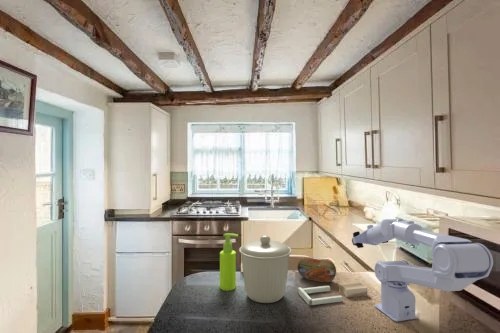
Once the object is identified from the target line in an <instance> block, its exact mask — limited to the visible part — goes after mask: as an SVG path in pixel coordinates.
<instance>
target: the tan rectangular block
mask: <svg viewBox="0 0 500 333" xmlns="http://www.w3.org/2000/svg"><path fill="white" fill-rule="evenodd" d="M338 291H339V293H341V294H342V295H343V296H344V297H345V298H354V297H365V296H368V287H367V286H366V285H364V284H363V283H362V282H360V281H354V282H353V281H352V282H344V283H339V284H338Z"/></svg>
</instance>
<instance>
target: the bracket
mask: <svg viewBox="0 0 500 333" xmlns="http://www.w3.org/2000/svg"><path fill="white" fill-rule="evenodd" d="M323 292H331V286H330V285H322V286H321V285H320V286H315V287H314V286H313V287H305V288H302V287H301V286H300V287H297V294H298V295H299V296H300V297H301V298H302V299H303V301H305V302H306V304H307V305H308V306H315V305H321V304H322V305H323V304H331V303H338V302H340V303H341V302H343V296H342V295H333V296H325V297H318V298H317V297H316V298H311V296H309V294H314V293H316V294H317V293H323Z"/></svg>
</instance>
